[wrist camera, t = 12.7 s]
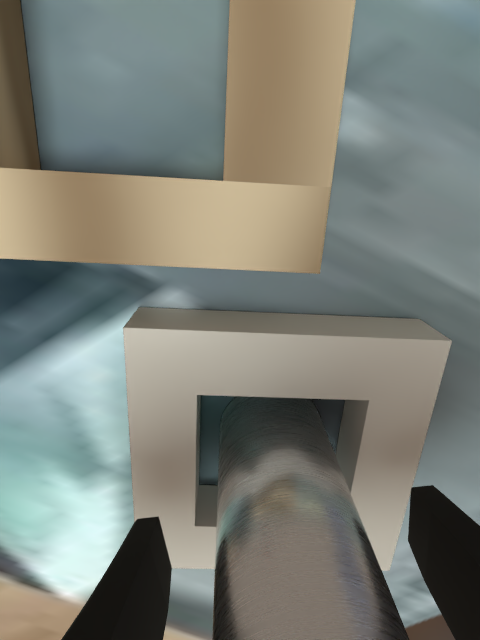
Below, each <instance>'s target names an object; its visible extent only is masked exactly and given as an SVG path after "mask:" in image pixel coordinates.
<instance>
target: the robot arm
mask: <svg viewBox="0 0 480 640" xmlns="http://www.w3.org/2000/svg"><path fill="white" fill-rule="evenodd" d="M408 542H409V544H410V547H411V549H412V552H413V554H414V557H415V559H416V562H417V564H418V566H419V569H420V571H421V574H422V576H423V578H424V581H425V583H426V585H427V587H428V589H429V591H430V593H431V594H432V596H433V598H434V600H435V602H436V604H437V606H438V608H439V610H440V612H441V613H442V615H443V617H444V619H445V621H446V623H447V625H448V627H449V628H450V630H451V632H452V634H453V636H454V638H455V639H456V640H480V526H479V525H478V524H477V523H476V522H475V521H473V520H472V519H471V518H470V517H469V516H468V515H466V514H465V513H464V512H463V511H462V510H461V509H460V508H458V507H457V506H456V505H455V504H454V503H453V502H452V501H450V500H449V499H448V498H447V497H446V496H445V495H444V494H442V493H441V492H440V491H439V490H438V489H437V488H435V487H434V486H433V485H431V486H422V487H413V488H411V499H410V516H409V534H408ZM171 570H172V566H171V562H170V559H169V555H168V551H167V547H166V543H165V539H164V535H163V531H162V527H161V524H160V520H159V516H158V517H149V518H141V519H137V520H136V521H135V522H134V524H133V526H132V528H131V530H130V531H129V533H128V535H127V537H126V538H125V540H124V542H123V544H122V545H121V547H120V549H119V551H118V552H117V554H116V556H115V557H114V559H113V561H112V562H111V564H110V566H109V567H108V569H107V571H106V572H105V574H104V575H103V577H102V579H101V580H100V582H99V583H98V585H97V587H96V588H95V590H94V591H93V593H92V595H91V596H90V598H89V599H88V601H87V603H86V604H85V606H84V607H83V609H82V610H81V612H80V613H79V615H78V616H77V617H76V619H75V620H74V622H73V623H72V625H71V626H70V628H69V629H68V631H67V632H66V634H65V635H64V637H63V638H62V639H61V640H163V636H164V630H165V625H166V619H167V613H168V605H169V595H170V583H171Z"/></svg>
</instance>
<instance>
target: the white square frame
mask: <svg viewBox="0 0 480 640" xmlns="http://www.w3.org/2000/svg"><path fill="white" fill-rule="evenodd" d="M123 332H124V349H125V366H126V383H127V401H128V418H129V435H130V452H131V469H132V487H133V504H134V521H136V520H137V519H141V518H149V517H158V516H159V520H160V524H161V527H162V531H163V535H164V539H165V543H166V547H167V551H168V555H169V559H170V562H171V566H172V568H191V569H215V554H216V526H217V498H218V485H199V459H200V410H201V395H215V396H246V397H278V398H309V399H340V400H345V403H344V409H343V415H342V420H341V426H340V432H339V437H338V443H337V449H336V455H335V456H336V458H337V461H338V463H339V466H340V468H341V471H342V473H343V476H344V478H345V481H346V483H347V486H348V488H349V491H350V493H351V496H352V498H353V501H354V503H355V506H356V508H357V511H358V513H359V516H360V518H361V521H362V523H363V526H364V528H365V531H366V533H367V536H368V538H369V541H370V543H371V545H372V548H373V550H374V553H375V555H376V558H377V560H378V563H379V565H380V568H381V570H387V571H389V570H390V566H391V563H392V559H393V555H394V552H395V548H396V544H397V541H398V537H399V533H400V530H401V526H402V522H403V519H404V515H405V511H406V508H407V504H408V500H409V497H410V493H411V488H412V486H413V482H414V478H415V475H416V471H417V467H418V464H419V460H420V456H421V453H422V449H423V445H424V442H425V438H426V434H427V431H428V427H429V423H430V420H431V416H432V412H433V409H434V405H435V401H436V398H437V394H438V390H439V387H440V383H441V379H442V376H443V372H444V368H445V365H446V361H447V357H448V354H449V350H450V346H451V343H452V341H451V340H450V339H449V338H447V337H446V336H444V335H443V334H441V333H440V332H438V331H437V330H435V329H434V328H432V327H431V326H429V325H428V324H426V323H425V322H423V321H422V320H420V319H406V318H383V317H359V316H336V315H312V314H289V313H265V312H242V311H218V310H195V309H171V308H148V307H139V308H138V309H137V311H136V312H135V313H134V314H133V316H132V317H131V318H130V320H129V321H128V322H127V324H126V325H125V326H124V327H123Z"/></svg>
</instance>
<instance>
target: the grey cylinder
mask: <svg viewBox="0 0 480 640" xmlns="http://www.w3.org/2000/svg"><path fill="white" fill-rule="evenodd" d="M212 640H409V638H408V635H407V633H406V630H405V628H404V625H403V623H402V620H401V618H400V615H399V613H398V610H397V608H396V605H395V603H394V600H393V598H392V595H391V593H390V590H389V588H388V585H387V583H386V580H385V578H384V575H383V573H382V570H381V568H380V565H379V563H378V560H377V558H376V555H375V553H374V550H373V548H372V545H371V543H370V541H369V538H368V536H367V533H366V531H365V528H364V526H363V523H362V521H361V518H360V516H359V513H358V511H357V508H356V506H355V503H354V501H353V498H352V496H351V493H350V491H349V488H348V486H347V483H346V481H345V478H344V476H343V473H342V471H341V468H340V466H339V463H338V461H337V458H336V456H335V453H334V451H333V448H332V446H331V443H330V441H329V438H328V436H327V433H326V431H325V428H324V426H323V423H322V421H321V418H320V416H319V413H318V411H317V408H316V407H315V405H314V403H313V402H312V401H311V399H309V398H278V397H246V396H236V397H235V398H234V399H233V400H232V401H231V402H230V403H229V404H228V406H227V407H226V409H225V410H224V413H223V415H222V418H221V423H220V441H219V469H218V498H217V526H216V554H215V582H214V610H213V638H212Z"/></svg>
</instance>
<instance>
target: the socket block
mask: <svg viewBox="0 0 480 640" xmlns="http://www.w3.org/2000/svg"><path fill="white" fill-rule="evenodd" d="M355 1H356V0H230V10H229V38H228V65H227V93H226V120H225V148H224V175H223V181H217V180H200V179H183V178H166V177H149V176H132V175H115V174H98V173H81V172H64V171H47V170H41V169H40V161H39V152H38V144H37V136H36V128H35V119H34V111H33V103H32V95H31V86H30V78H29V70H28V62H27V53H26V45H25V37H24V29H23V20H22V12H21V4H20V0H0V258H3V259H24V260H45V261H66V262H87V263H108V264H129V265H150V266H171V267H192V268H212V269H233V270H254V271H275V272H296V273H317V274H320V269H321V261H322V253H323V246H324V238H325V230H326V223H327V215H328V207H329V200H330V192H331V184H332V177H333V169H334V162H335V154H336V146H337V139H338V131H339V123H340V116H341V108H342V100H343V93H344V85H345V77H346V70H347V62H348V54H349V47H350V39H351V31H352V24H353V16H354V8H355Z"/></svg>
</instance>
